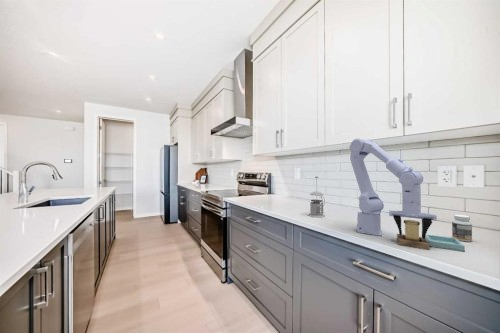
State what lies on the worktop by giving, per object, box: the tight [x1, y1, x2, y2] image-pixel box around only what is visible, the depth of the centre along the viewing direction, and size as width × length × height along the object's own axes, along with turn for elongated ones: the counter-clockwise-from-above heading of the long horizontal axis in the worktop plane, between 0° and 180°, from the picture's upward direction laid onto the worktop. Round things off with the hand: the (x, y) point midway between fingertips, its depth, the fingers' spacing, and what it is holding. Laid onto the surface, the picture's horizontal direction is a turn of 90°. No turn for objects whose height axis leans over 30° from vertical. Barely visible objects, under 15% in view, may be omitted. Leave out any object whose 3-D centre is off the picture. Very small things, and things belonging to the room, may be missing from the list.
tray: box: [425, 233, 466, 252], centre depth 79 cm, size 10×10×2 cm
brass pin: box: [403, 219, 421, 242], centre depth 80 cm, size 5×5×9 cm
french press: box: [308, 176, 326, 219], centre depth 129 cm, size 10×12×25 cm
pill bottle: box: [451, 214, 473, 243], centre depth 85 cm, size 6×6×10 cm
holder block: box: [396, 233, 430, 251], centre depth 80 cm, size 9×9×2 cm
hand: (411, 236), depth 80 cm, fingers open, 6 cm apart
